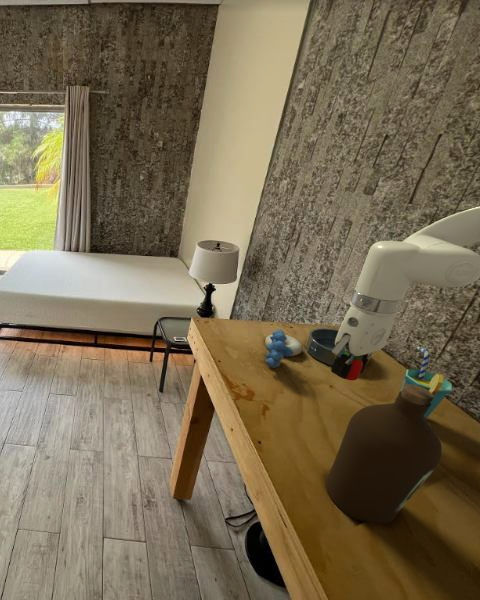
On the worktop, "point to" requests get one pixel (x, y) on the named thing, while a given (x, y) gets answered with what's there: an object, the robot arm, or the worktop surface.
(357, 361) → the strawberry
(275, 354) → the grapes
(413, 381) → the cup
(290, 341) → the donut
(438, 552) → the worktop surface
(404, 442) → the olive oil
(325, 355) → the bowl
